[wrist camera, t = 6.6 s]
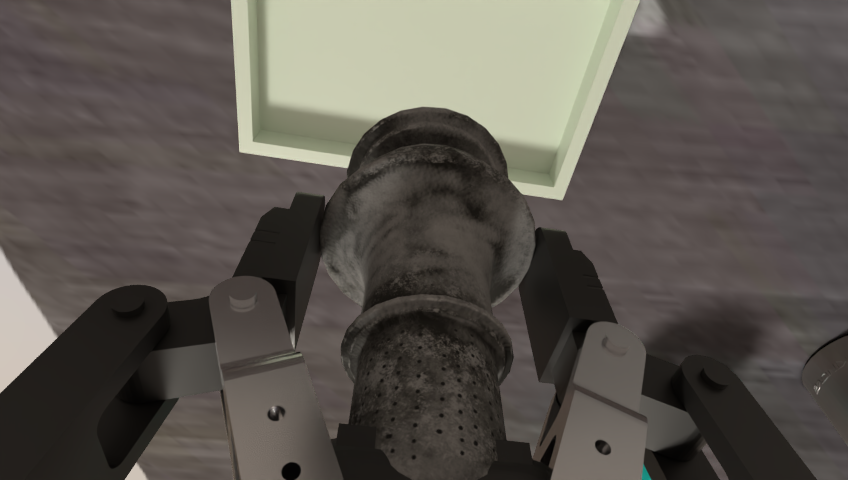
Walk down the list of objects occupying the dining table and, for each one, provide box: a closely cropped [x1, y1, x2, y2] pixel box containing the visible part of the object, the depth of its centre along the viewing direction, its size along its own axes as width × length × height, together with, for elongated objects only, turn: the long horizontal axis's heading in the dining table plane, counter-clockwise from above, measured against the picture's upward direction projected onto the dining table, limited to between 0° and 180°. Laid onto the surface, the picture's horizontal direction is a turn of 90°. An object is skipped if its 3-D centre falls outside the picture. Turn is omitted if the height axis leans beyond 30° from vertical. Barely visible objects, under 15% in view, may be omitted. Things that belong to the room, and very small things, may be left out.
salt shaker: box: [320, 107, 536, 480], centre depth 12 cm, size 6×6×12 cm
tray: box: [231, 0, 640, 200], centre depth 28 cm, size 20×14×2 cm
